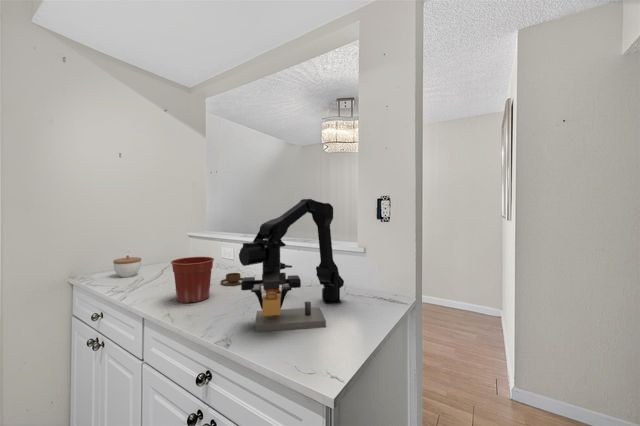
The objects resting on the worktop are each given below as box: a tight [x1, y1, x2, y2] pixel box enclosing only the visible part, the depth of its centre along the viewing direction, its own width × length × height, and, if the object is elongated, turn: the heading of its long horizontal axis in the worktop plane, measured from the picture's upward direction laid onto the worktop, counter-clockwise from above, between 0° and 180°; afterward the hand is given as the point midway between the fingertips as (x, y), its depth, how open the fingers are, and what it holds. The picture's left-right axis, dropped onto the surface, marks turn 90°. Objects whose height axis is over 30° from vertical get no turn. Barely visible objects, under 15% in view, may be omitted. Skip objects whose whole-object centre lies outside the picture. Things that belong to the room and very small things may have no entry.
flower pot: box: [170, 256, 215, 304], centre depth 115 cm, size 16×16×16 cm
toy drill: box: [265, 261, 293, 294], centre depth 121 cm, size 5×19×15 cm, turn 45°
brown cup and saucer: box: [220, 272, 244, 287], centre depth 141 cm, size 18×20×6 cm
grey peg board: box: [254, 301, 327, 333], centre depth 92 cm, size 22×12×6 cm, turn 100°
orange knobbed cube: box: [262, 292, 281, 316], centre depth 91 cm, size 6×6×6 cm
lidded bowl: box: [112, 255, 142, 278], centre depth 153 cm, size 13×13×11 cm
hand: (271, 308), depth 91 cm, fingers closed on orange knobbed cube, 5 cm apart
